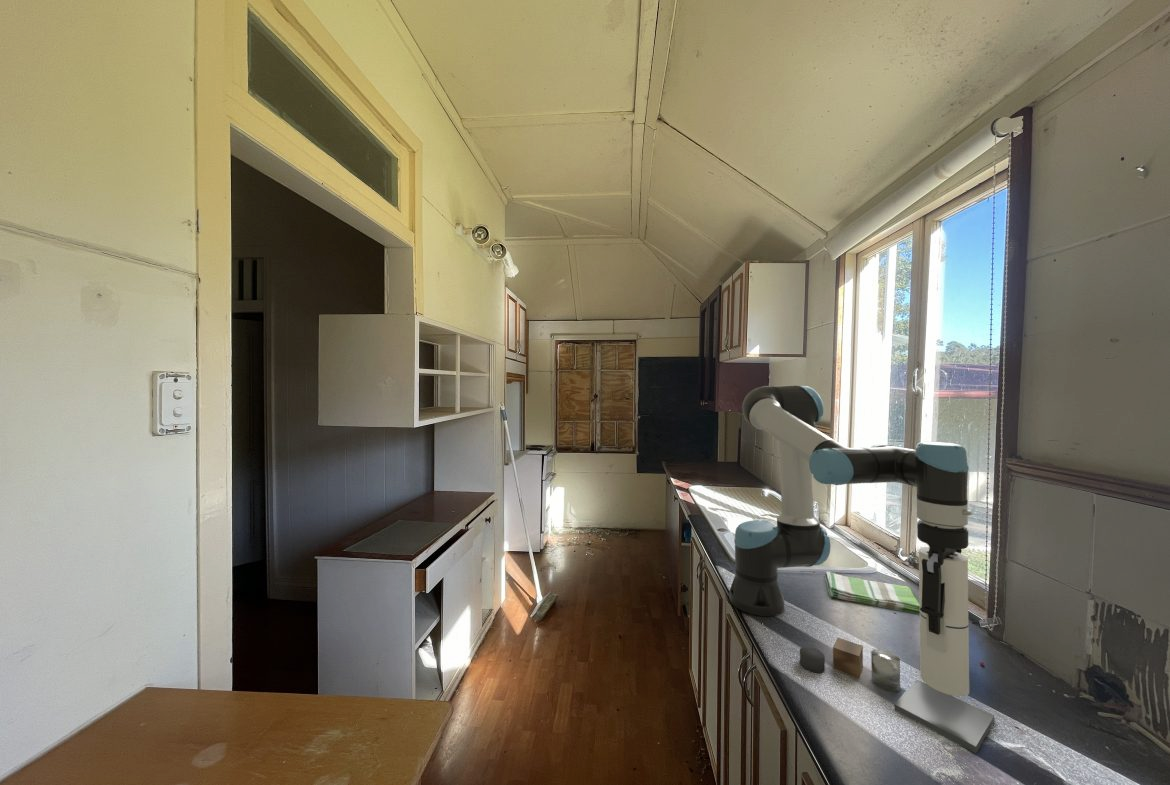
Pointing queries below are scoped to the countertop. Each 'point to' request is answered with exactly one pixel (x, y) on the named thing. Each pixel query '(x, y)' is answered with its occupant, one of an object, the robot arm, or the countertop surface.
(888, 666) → the grey metal tin
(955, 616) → the cylindrical container
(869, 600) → the dish towel
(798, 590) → the countertop surface
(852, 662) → the walnut block
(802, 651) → the black rubber puck
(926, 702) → the plate
